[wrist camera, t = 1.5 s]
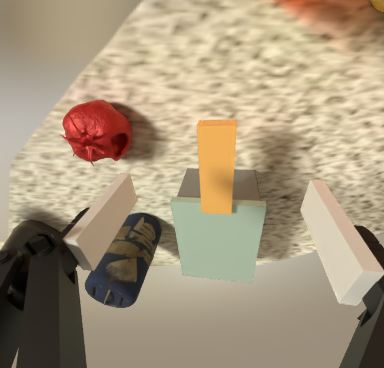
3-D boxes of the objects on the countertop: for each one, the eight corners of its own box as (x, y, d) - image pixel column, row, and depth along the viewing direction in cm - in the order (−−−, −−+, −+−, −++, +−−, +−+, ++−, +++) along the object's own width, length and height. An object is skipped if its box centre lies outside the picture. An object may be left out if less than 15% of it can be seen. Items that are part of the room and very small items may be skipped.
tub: (193, 234, 46) (186, 269, 39) (187, 168, 36) (176, 198, 29) (245, 238, 44) (248, 276, 37) (254, 170, 34) (260, 203, 27)
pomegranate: (72, 119, 34) (27, 138, 27) (105, 82, 30) (64, 93, 22) (113, 161, 38) (85, 189, 31) (149, 134, 34) (126, 159, 26)
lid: (183, 269, 39) (181, 279, 37) (160, 121, 22) (155, 126, 21) (251, 277, 37) (252, 287, 35) (280, 118, 20) (285, 124, 19)
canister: (170, 224, 46) (142, 307, 31) (151, 243, 51) (120, 321, 36) (134, 203, 44) (86, 281, 29) (119, 224, 49) (71, 300, 34)
